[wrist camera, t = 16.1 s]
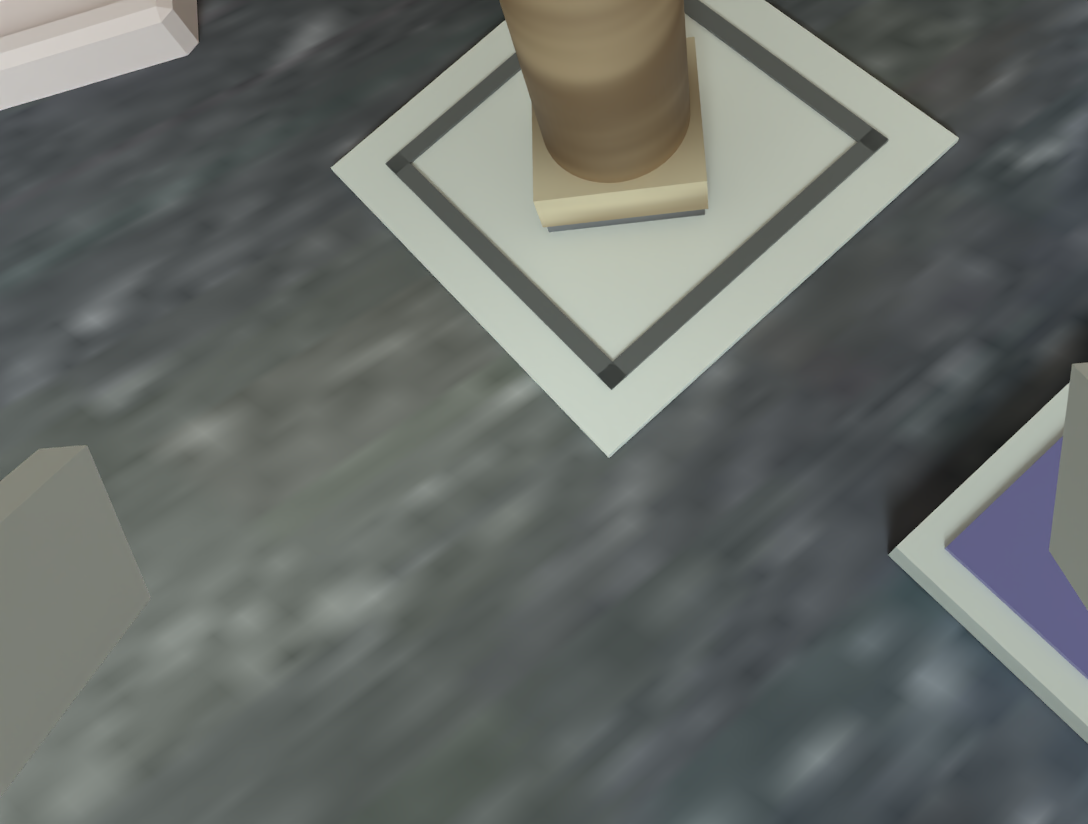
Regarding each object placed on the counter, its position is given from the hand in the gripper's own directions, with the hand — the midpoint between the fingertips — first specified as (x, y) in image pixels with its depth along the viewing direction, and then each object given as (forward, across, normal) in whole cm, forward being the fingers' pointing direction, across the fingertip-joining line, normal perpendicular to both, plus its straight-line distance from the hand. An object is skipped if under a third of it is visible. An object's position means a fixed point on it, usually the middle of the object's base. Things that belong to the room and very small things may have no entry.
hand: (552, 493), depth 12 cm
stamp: (+19, 0, 0) cm, 19 cm away
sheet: (+19, 0, 0) cm, 19 cm away
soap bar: (+26, -20, +6) cm, 33 cm away
